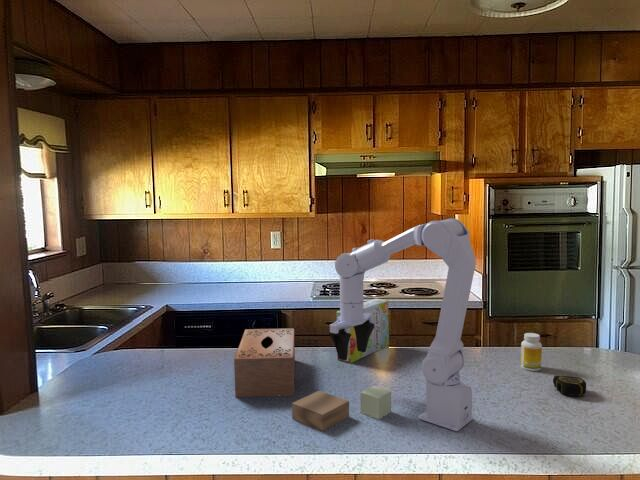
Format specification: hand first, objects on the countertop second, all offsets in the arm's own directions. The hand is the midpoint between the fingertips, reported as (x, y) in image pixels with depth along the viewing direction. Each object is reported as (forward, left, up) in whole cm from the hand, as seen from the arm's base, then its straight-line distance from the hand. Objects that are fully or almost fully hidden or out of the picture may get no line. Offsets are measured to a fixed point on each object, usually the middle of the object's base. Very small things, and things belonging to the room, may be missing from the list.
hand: (352, 355), depth 126 cm
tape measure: (-41, -35, -10) cm, 55 cm away
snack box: (+16, -27, -10) cm, 33 cm away
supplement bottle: (-28, -46, -10) cm, 55 cm away
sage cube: (-11, +5, -10) cm, 15 cm away
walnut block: (-3, +15, -10) cm, 18 cm away
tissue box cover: (+24, +6, -10) cm, 27 cm away
